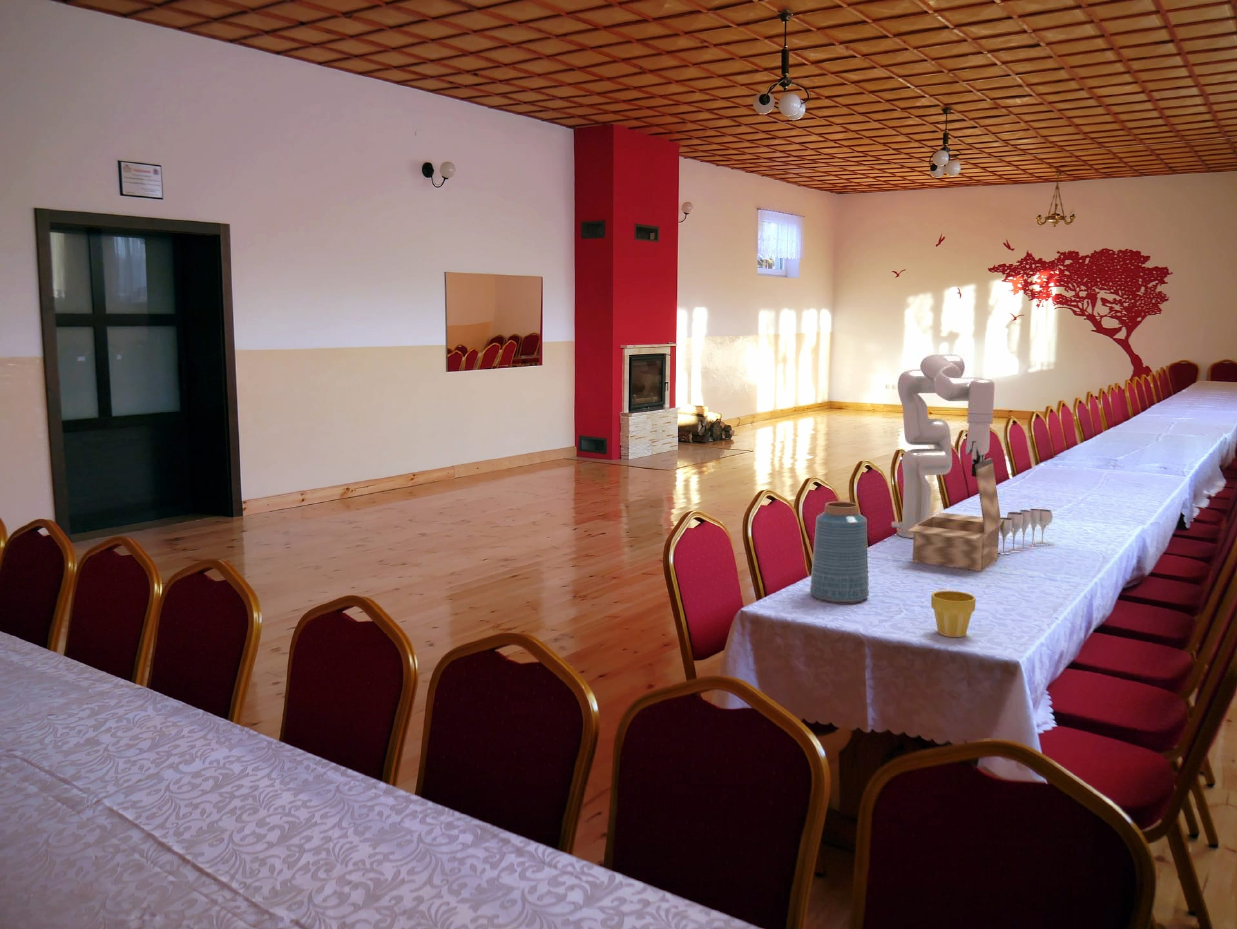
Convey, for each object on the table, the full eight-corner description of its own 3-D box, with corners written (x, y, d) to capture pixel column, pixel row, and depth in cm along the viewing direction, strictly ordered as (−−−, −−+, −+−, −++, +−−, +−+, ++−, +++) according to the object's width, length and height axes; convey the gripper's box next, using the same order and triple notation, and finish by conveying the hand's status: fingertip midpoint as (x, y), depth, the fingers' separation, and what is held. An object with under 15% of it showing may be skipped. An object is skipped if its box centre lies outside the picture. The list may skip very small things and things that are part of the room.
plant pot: (937, 624, 249) (938, 587, 248) (978, 631, 244) (980, 593, 242) (924, 635, 241) (926, 597, 240) (967, 642, 235) (969, 603, 234)
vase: (835, 608, 264) (838, 511, 260) (798, 593, 278) (800, 502, 274) (881, 599, 272) (884, 506, 268) (842, 586, 286) (845, 497, 282)
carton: (904, 566, 307) (905, 529, 306) (937, 546, 335) (939, 512, 333) (975, 577, 295) (977, 538, 293) (1003, 554, 322) (1005, 519, 320)
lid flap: (974, 464, 299) (977, 464, 298) (990, 458, 313) (992, 457, 313) (984, 533, 300) (986, 533, 299) (999, 523, 314) (1001, 523, 313)
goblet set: (1006, 556, 321) (1008, 516, 319) (991, 552, 326) (993, 514, 324) (1054, 544, 337) (1056, 507, 335) (1039, 541, 342) (1041, 504, 340)
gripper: (974, 416, 313) (972, 472, 316) (960, 420, 301) (958, 478, 303) (998, 417, 309) (996, 474, 311) (985, 421, 297) (983, 480, 299)
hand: (977, 476), depth 307 cm, fingers closed
